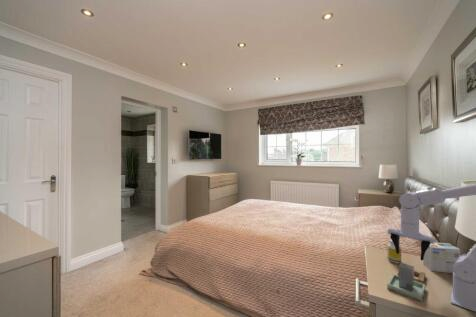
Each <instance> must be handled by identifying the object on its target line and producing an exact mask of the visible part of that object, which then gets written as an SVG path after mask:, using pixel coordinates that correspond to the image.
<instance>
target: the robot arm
mask: <svg viewBox="0 0 476 317" xmlns="http://www.w3.org/2000/svg"><path fill="white" fill-rule="evenodd" d="M468 196H476V183H472V184H471V183H470V184H466V185H462V186H457V187H451V188H447V189H440V188H438V187H432V186H429V187H426V188H425V189H422V190H412V191H409V192H405V193H402V194H401V195H400V196H399V198H398V202H399V204H400V208H401V209H400V229H396V228H388V229H387V234H388V235H390V239H391V240H392V241H393V243H394V246H395V249H396V253H397V254H399V251H400V248H399V246H400V244H399V242H400V238H401V237H402V238H407V239H411V240H416V241H417V240H418V241H420V242H421V243H420V261H423V259H424V254H425V252H426V250H427V249H428V247H429V246H430V243H431V244H434V243H435V237H432V236H429V235H425V234H421V233H420V206H421V207H423V206H424V207H425V206H431V205H438V204H444V203H445V201H446V199H447V200H448V199H453V198H461V197H462V198H463V197H468ZM452 269H453V273H452V291H450V292H451V295H450V303H451V304H453V305H455V306H458V307H462V308H463V309H466V310H469V311H473V312H475V313H476V245H475V246H474V247H473V248H472V249H470V250H469V251H468V252H467V253H464V254H460V256H459V257H458V259H457V261H456V263H455V264H454V265H453V267H452Z"/></svg>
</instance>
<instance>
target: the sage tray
mask: <svg viewBox="0 0 476 317" xmlns="http://www.w3.org/2000/svg"><path fill="white" fill-rule="evenodd" d="M386 286H387V287H386V288H387V290H389V291H393V292H395V293H398V294H400V295H402V296H405V297H408V298H410V299H413V300H415V301H419V302H421V303H422V302H423V298H424V295H425V292H426V284H425V283H423V284H422V283H419V282H416V281H414V288H413V291H412V292H411V291H408V290H406V289H403V288H400V287H399V276H398V274H395V273H393V274H392V276H391V277H390V279H389V280H388V282H387V285H386Z"/></svg>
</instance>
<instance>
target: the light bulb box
mask: <svg viewBox="0 0 476 317" xmlns="http://www.w3.org/2000/svg"><path fill="white" fill-rule="evenodd" d="M459 256H461V249H460V248H459V247H456V246H455V245H453V244H452V243H447V242H446V243H445V242H434V244H431V243H430V246H429V247H428V249H427V250H426V252H425V254H424V259H423V260H422V264H423V265H424V266H425V267H426V268H427V269H429V270H430V271H431V272H439V273H440V272H441V273H449V274H450V273H451V274H453V269H452V267H453V265H454V264H455V263H456V261H457V259H458V257H459Z"/></svg>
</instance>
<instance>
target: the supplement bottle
mask: <svg viewBox="0 0 476 317" xmlns="http://www.w3.org/2000/svg"><path fill="white" fill-rule="evenodd" d="M400 244H401V242H400V241H399V248H400V251H399V254H397V253H396V249H395V246H394V243H393V241H392V240H391V238H390V239H389V243H388V244H387V249H386V250H387V256H386V257H387V258H386V259H387V260H388V261H389V262H391V263H394V264H401V263H402V247H401V246H400Z"/></svg>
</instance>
